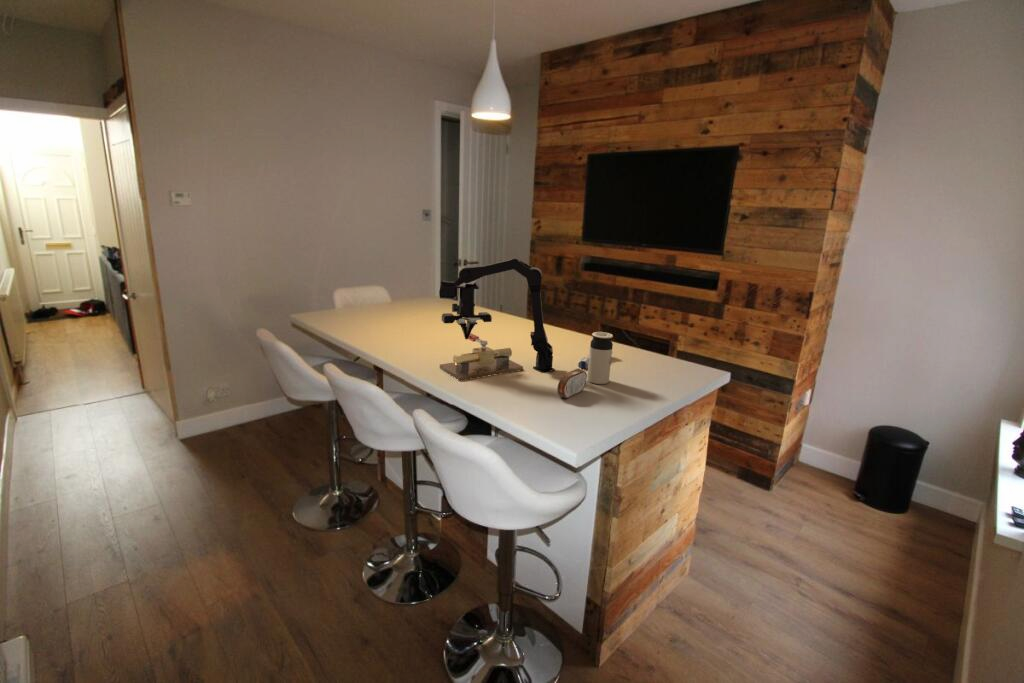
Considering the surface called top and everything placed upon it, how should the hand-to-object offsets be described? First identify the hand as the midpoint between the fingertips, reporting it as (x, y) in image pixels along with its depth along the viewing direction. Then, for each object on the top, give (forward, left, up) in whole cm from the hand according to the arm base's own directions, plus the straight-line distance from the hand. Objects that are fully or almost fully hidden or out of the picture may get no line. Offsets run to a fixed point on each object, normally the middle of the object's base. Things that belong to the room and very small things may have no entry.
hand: (466, 339), depth 189 cm
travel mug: (-39, -34, -11) cm, 53 cm away
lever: (-4, -2, 0) cm, 4 cm away
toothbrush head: (-21, -50, -11) cm, 56 cm away
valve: (-9, -2, -10) cm, 14 cm away
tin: (-45, -16, -11) cm, 49 cm away
